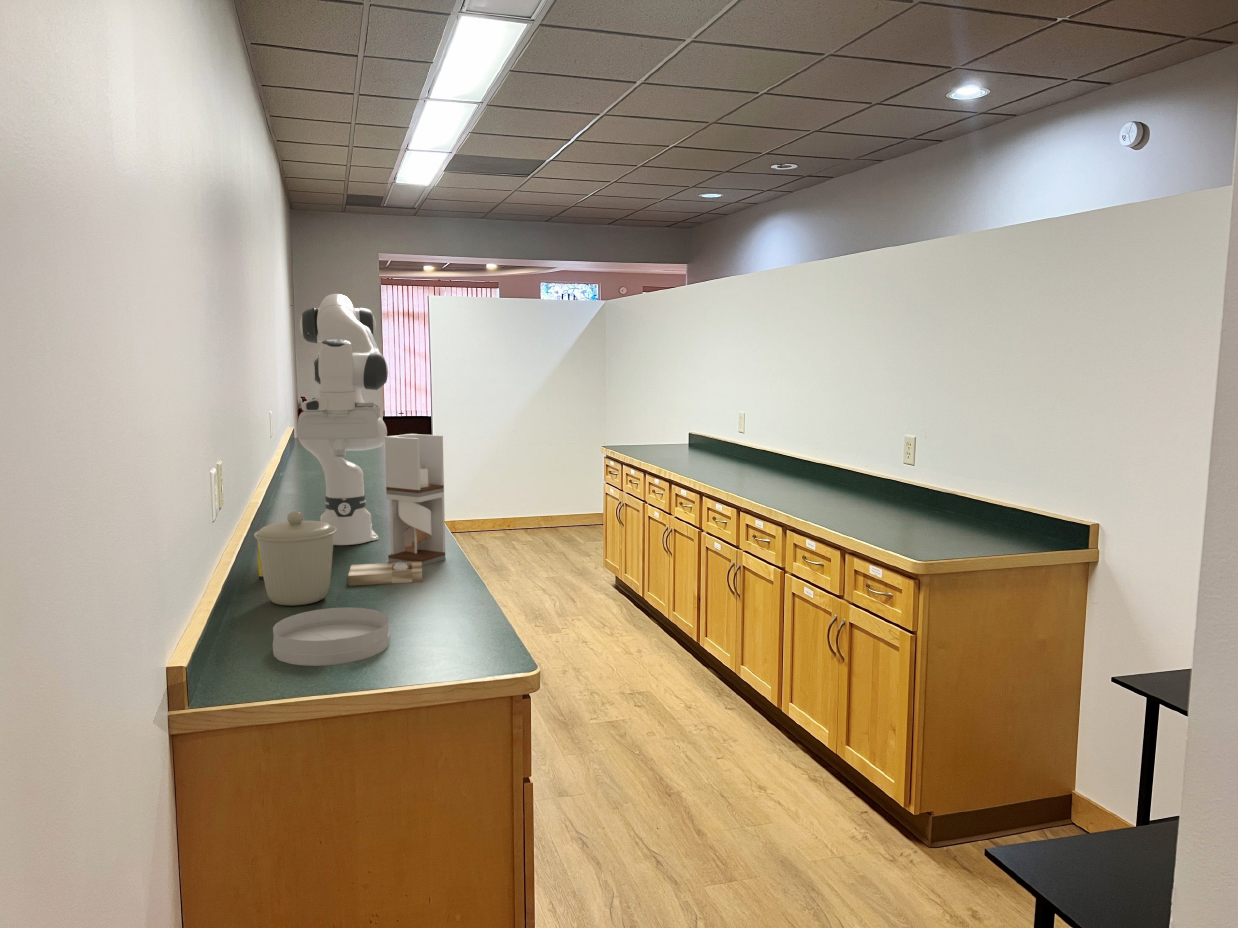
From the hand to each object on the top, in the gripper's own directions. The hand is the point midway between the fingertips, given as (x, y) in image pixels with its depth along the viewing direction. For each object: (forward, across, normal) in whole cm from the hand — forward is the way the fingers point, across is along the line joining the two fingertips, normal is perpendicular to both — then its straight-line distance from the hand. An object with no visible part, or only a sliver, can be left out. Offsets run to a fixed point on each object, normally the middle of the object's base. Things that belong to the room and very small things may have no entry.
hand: (339, 456), depth 228 cm
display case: (+31, -19, -11) cm, 38 cm away
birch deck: (+31, -11, +7) cm, 34 cm away
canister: (+31, +8, +24) cm, 40 cm away
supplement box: (+31, +17, 0) cm, 36 cm away
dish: (+32, -2, +60) cm, 68 cm away
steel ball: (+29, -15, +7) cm, 33 cm away
